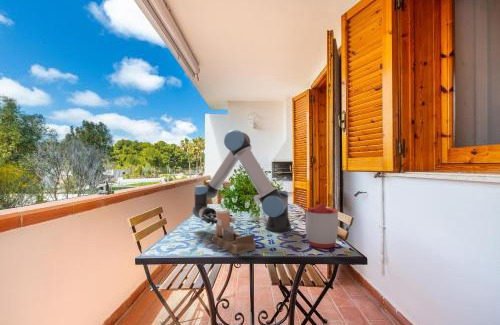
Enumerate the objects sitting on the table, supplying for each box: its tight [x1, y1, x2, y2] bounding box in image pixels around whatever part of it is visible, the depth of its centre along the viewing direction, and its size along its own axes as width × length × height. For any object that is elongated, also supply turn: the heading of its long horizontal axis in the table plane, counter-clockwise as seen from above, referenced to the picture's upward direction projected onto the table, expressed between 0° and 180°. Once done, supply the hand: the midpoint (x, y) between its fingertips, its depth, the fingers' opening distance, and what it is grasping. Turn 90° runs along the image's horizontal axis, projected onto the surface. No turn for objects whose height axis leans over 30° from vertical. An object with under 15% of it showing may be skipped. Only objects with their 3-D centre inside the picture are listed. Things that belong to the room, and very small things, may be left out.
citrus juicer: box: [301, 203, 339, 249], centre depth 123 cm, size 16×17×20 cm
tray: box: [211, 232, 257, 255], centre depth 123 cm, size 22×11×7 cm, turn 35°
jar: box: [215, 208, 231, 236], centre depth 130 cm, size 7×7×12 cm
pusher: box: [222, 225, 235, 241], centre depth 127 cm, size 1×6×7 cm, turn 125°
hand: (227, 221), depth 126 cm, fingers closed on jar, 7 cm apart
